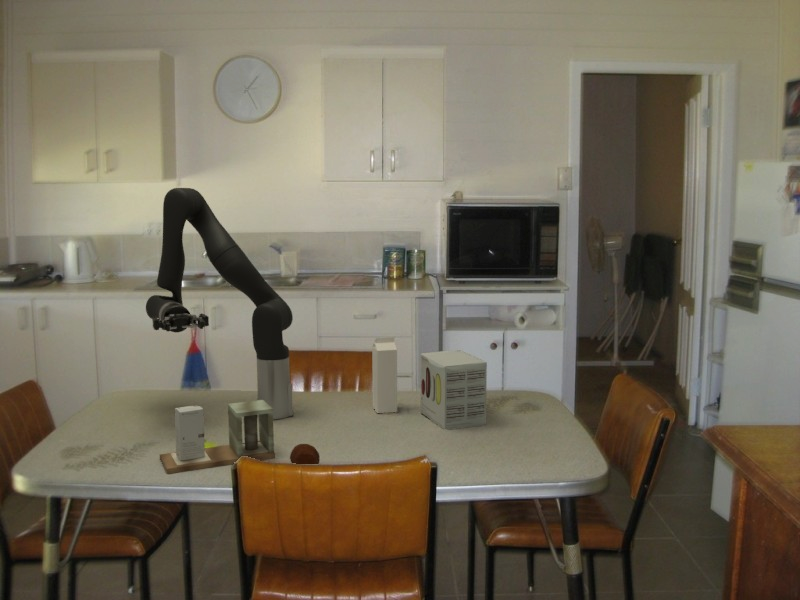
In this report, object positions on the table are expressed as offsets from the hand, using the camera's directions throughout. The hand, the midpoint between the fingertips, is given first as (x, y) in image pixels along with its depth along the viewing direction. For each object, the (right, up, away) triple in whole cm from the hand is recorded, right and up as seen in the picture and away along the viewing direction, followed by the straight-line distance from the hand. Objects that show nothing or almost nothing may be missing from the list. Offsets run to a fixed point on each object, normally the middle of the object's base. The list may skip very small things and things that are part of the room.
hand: (185, 326), depth 215 cm
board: (+11, -32, -12) cm, 36 cm away
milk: (+51, -26, +29) cm, 65 cm away
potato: (+33, -34, -19) cm, 51 cm away
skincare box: (+5, -31, -14) cm, 35 cm away
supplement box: (+71, -27, +21) cm, 79 cm away
